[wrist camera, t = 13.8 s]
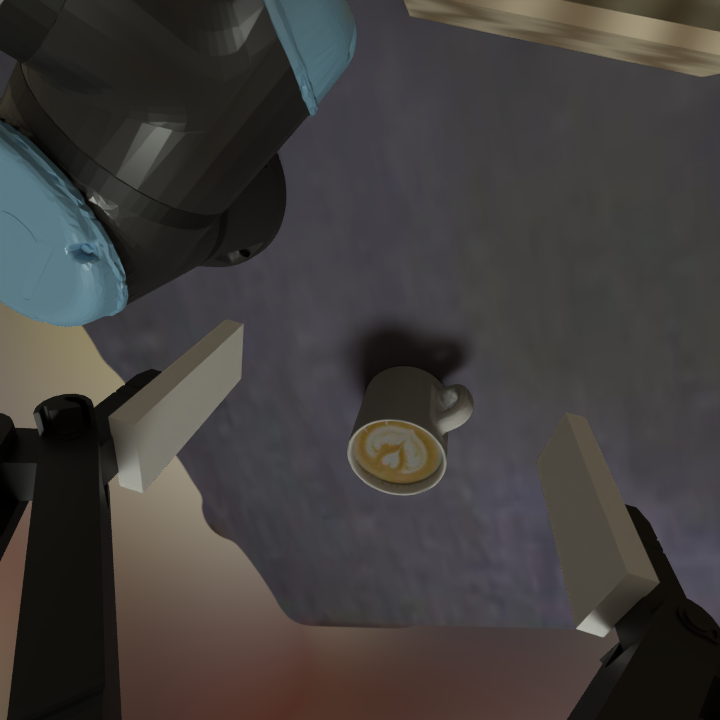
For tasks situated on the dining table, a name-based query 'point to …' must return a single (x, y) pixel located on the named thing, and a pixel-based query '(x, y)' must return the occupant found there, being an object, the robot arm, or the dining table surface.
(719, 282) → the dining table surface
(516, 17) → the box
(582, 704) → the robot arm
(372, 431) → the coffee mug
